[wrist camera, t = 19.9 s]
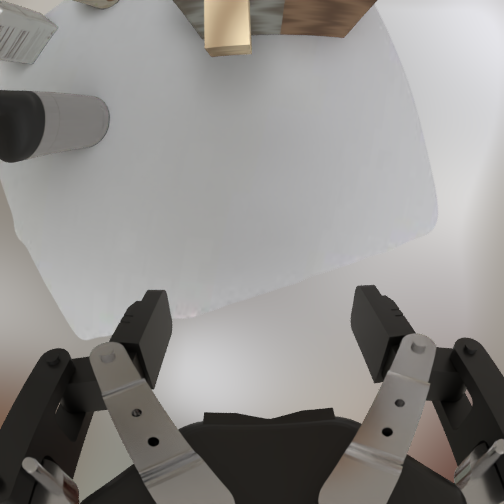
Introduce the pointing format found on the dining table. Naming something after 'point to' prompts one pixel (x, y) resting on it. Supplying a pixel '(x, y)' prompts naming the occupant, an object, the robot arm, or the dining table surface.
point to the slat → (227, 27)
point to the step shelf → (291, 16)
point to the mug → (99, 3)
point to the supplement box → (22, 33)
